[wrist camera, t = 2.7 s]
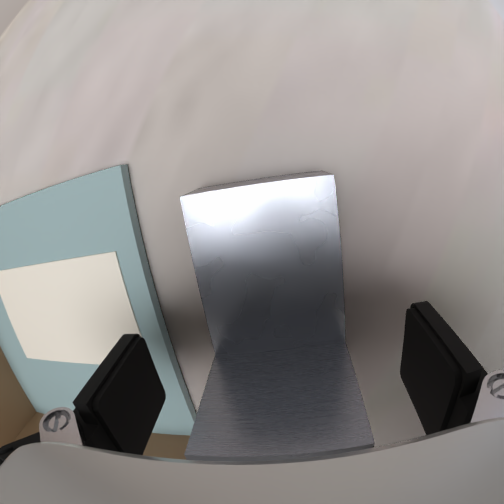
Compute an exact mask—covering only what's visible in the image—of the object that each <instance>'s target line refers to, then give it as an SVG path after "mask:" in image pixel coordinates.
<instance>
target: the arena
mask: <svg viewBox="0 0 504 504" xmlns="http://www.w3.org/2000/svg"><path fill="white" fill-rule="evenodd" d="M124 334H139V335H140V336H141V337H143V338H144V339H145V341H146V344H147V346H148V349H149V352H150V354H151V357H152V360H153V362H154V365H155V368H156V370H157V373H158V375H159V378H160V380H161V383H162V385H163V387H164V390H165V393H166V400H165V402H164V405H163V407H162V409H161V412H160V414H159V417H158V419H157V421H156V424H155V426H154V429H153V431H152V433H151V436H150V438H149V441H148V443H147V445H146V448H145V450H144V453H143V455H144V456H152V457H161V458H171V459H184V460H187V459H186V457H185V455H184V454H185V451H186V447H187V444H188V441H189V438H190V435H191V431H192V428H193V425H194V422H195V418H196V412H195V409H194V407H193V404H192V402H191V399H190V396H189V394H188V391H187V388H186V385H185V383H184V380H183V377H182V374H181V371H180V368H179V365H178V362H177V359H176V356H175V353H174V350H173V347H172V344H171V341H170V338H169V335H168V332H167V328H166V325H165V322H164V319H163V315H162V312H161V308H160V305H159V302H158V298H157V294H156V291H155V287H154V284H153V280H152V276H151V272H150V268H149V264H148V260H147V256H146V252H145V248H144V244H143V240H142V236H141V231H140V227H139V222H138V218H137V213H136V208H135V203H134V198H133V193H132V188H131V183H130V177H129V172H128V166H127V164H126V165H119V166H115V167H112V168H108V169H105V170H101V171H98V172H95V173H91V174H88V175H85V176H82V177H78V178H75V179H72V180H69V181H66V182H63V183H60V184H57V185H54V186H51V187H49V188H46V189H43V190H40V191H38V192H35V193H32V194H29V195H27V196H24V197H22V198H19V199H16V200H14V201H11V202H9V203H6V204H4V205H2V206H0V448H1V447H2V446H4V445H6V444H9V443H11V442H14V441H17V440H19V439H22V438H24V437H27V436H30V435H32V434H35V433H37V432H39V422H40V420H41V418H42V417H43V416H44V415H45V414H46V413H47V412H48V411H50V410H52V409H54V408H58V407H67V408H70V409H71V410H72V411H73V410H74V409H75V406H74V404H73V403H72V402H73V401H74V399H75V398H76V397H77V395H78V394H79V392H80V391H81V390H82V388H83V387H84V386H85V384H86V383H87V381H88V380H89V379H90V377H91V376H92V375H93V373H94V372H95V371H96V369H97V368H98V367H99V365H100V364H101V363H102V361H103V360H104V359H105V357H106V356H107V355H108V353H109V352H110V351H111V350H112V348H113V347H114V346H115V344H116V343H117V342H118V340H119V339H120V338H121V337H122V335H124Z"/></svg>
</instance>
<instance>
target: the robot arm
mask: <svg viewBox="0 0 504 504" xmlns="http://www.w3.org/2000/svg"><path fill="white" fill-rule="evenodd" d="M400 374H401V378H402V381H403V383H404V385H405V387H406V389H407V391H408V394H409V396H410V398H411V400H412V403H413V405H414V407H415V409H416V412H417V414H418V416H419V418H420V421H421V423H422V425H423V428H424V430H425V433H426V435H425V436H422V437H418V438H414V439H410V440H406V441H402V442H397V443H393V444H388V445H384V446H379V447H374V448H369V449H364V450H359V451H353V452H347V453H340V454H333V455H326V456H317V457H308V458H298V459H285V460H268V461H202V460H184V459H171V458H161V457H152V456H144V455H143V453H144V450H145V448H146V445H147V443H148V441H149V438H150V436H151V433H152V431H153V429H154V426H155V424H156V421H157V419H158V417H159V414H160V412H161V409H162V407H163V405H164V402H165V400H166V393H165V390H164V387H163V385H162V383H161V380H160V378H159V375H158V373H157V370H156V368H155V365H154V362H153V360H152V357H151V354H150V352H149V349H148V346H147V344H146V341H145V339H144V338H143V337H141V336H140V335H139V334H124V335H122V337H121V338H120V339H119V340H118V342H117V343H116V344H115V346H114V347H113V348H112V350H111V351H110V352H109V353H108V355H107V356H106V357H105V359H104V360H103V361H102V363H101V364H100V365H99V367H98V368H97V369H96V371H95V372H94V373H93V375H92V376H91V377H90V379H89V380H88V381H87V383H86V384H85V386H84V387H83V388H82V390H81V391H80V392H79V394H78V395H77V397H76V398H75V399H74V401H73V402H72V403H73V404H74V406H75V409H74V410H73V411H72V410H71V409H70V408H67V407H58V408H54V409H52V410H50V411H48V412H47V413H46V414H45V415H44V416H43V417H42V418H41V420H40V422H39V432H37V433H35V434H32V435H30V436H27V437H24V438H22V439H19V440H17V441H14V442H11V443H9V444H6V445H4V446H2V447H1V448H0V504H504V370H497V371H493V372H491V373H489V374H487V372H486V371H485V370H484V368H483V367H482V366H481V364H480V363H479V362H478V361H477V359H476V358H475V357H474V356H473V354H472V353H471V352H470V351H469V349H468V348H467V347H466V346H465V344H464V343H463V342H462V341H461V339H460V338H459V337H458V336H457V335H456V333H455V332H454V331H453V330H452V329H451V327H450V326H449V325H448V324H447V323H446V322H445V320H444V319H443V318H442V317H441V316H440V315H439V314H438V312H437V311H436V310H435V309H434V308H433V307H432V306H431V304H430V303H429V302H428V301H424V302H419V303H414V304H412V305H411V307H410V308H409V309H407V311H406V320H405V332H404V342H403V351H402V360H401V368H400Z"/></svg>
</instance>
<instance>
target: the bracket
mask: <svg viewBox="0 0 504 504" xmlns="http://www.w3.org/2000/svg"><path fill="white" fill-rule="evenodd" d="M180 201H181V206H182V211H183V216H184V221H185V226H186V231H187V236H188V241H189V246H190V250H191V255H192V260H193V264H194V269H195V273H196V278H197V282H198V286H199V291H200V295H201V299H202V303H203V308H204V312H205V316H206V320H207V324H208V328H209V332H210V336H211V340H212V344H213V348H214V351H215V358H214V361H213V364H212V367H211V370H210V374H209V377H208V380H207V383H206V386H205V390H204V393H203V396H202V399H201V402H200V406H199V409H198V412H197V415H196V418H195V422H194V425H193V428H192V431H191V435H190V438H189V441H188V444H187V447H186V451H185V454H184V455H185V457H186V459H187V460H202V461H268V460H285V459H298V458H308V457H317V456H326V455H333V454H340V453H347V452H353V451H359V450H364V449H369V448H374V439H373V435H372V432H371V428H370V424H369V420H368V417H367V413H366V409H365V406H364V402H363V399H362V395H361V392H360V388H359V385H358V382H357V378H356V375H355V371H354V368H353V365H352V362H351V358H350V355H349V352H348V349H347V345H346V342H345V308H344V285H343V267H342V252H341V239H340V227H339V217H338V207H337V197H336V188H335V180H334V174H331V173H328V172H325V171H315V172H306V173H298V174H290V175H282V176H275V177H268V178H260V179H254V180H247V181H240V182H234V183H228V184H222V185H216V186H210V187H204V188H199V189H197V190H195V191H192V192H190V193H188V194H185V195H183V196H181V197H180Z"/></svg>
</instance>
